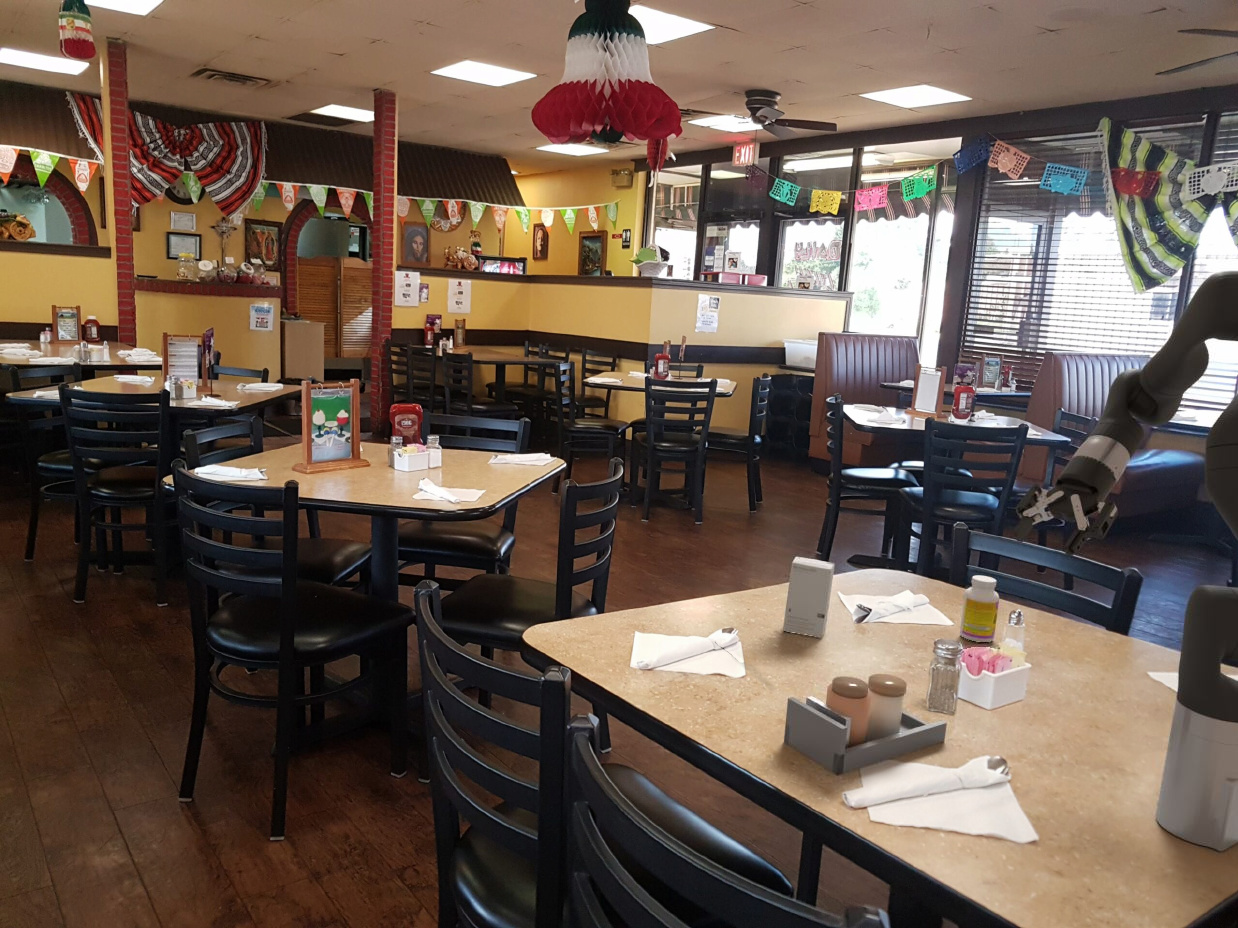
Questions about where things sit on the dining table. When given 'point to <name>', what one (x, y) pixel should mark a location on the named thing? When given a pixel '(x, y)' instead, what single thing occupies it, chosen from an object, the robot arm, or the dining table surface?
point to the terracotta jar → (852, 705)
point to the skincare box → (808, 596)
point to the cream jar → (885, 705)
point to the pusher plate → (831, 714)
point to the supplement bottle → (980, 610)
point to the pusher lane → (828, 742)
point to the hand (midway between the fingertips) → (1041, 545)
